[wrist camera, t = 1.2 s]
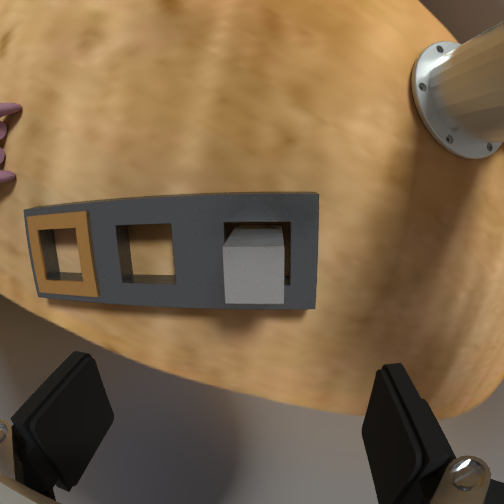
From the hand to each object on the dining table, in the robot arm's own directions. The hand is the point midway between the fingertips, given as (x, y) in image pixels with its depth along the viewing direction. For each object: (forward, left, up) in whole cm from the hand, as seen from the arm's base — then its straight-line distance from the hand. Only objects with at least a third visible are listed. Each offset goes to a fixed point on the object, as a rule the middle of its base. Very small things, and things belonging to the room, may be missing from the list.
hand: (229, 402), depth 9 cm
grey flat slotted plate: (+10, 0, -20) cm, 22 cm away
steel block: (0, 0, -20) cm, 20 cm away
